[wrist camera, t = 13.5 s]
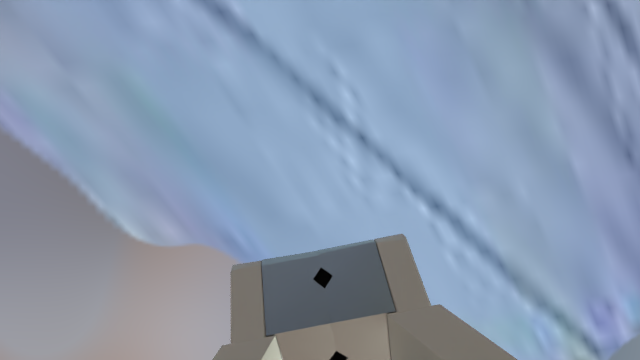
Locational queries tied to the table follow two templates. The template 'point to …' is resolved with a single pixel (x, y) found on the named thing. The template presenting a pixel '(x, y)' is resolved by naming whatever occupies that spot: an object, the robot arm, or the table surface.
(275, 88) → the table surface
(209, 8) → the table surface
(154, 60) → the table surface
